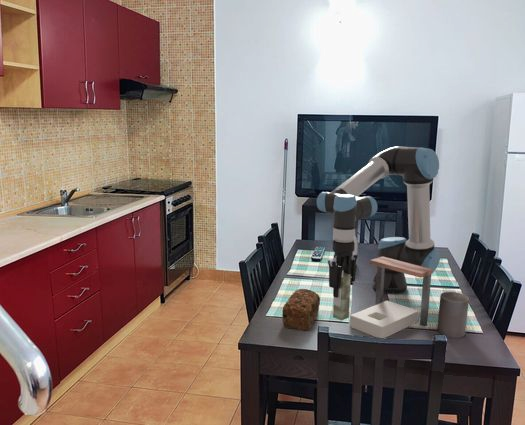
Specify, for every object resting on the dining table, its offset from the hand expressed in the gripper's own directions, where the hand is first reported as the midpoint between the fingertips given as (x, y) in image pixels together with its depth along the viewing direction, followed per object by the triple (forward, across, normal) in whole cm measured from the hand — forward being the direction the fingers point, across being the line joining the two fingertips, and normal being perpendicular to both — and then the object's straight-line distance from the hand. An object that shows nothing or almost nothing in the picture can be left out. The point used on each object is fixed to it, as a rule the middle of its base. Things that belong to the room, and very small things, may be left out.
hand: (341, 303), depth 181 cm
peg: (+5, 0, 0) cm, 5 cm away
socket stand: (+11, -18, +6) cm, 22 cm away
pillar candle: (+12, -30, +26) cm, 42 cm away
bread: (+11, +2, -17) cm, 20 cm away
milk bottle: (+12, -68, -51) cm, 86 cm away
